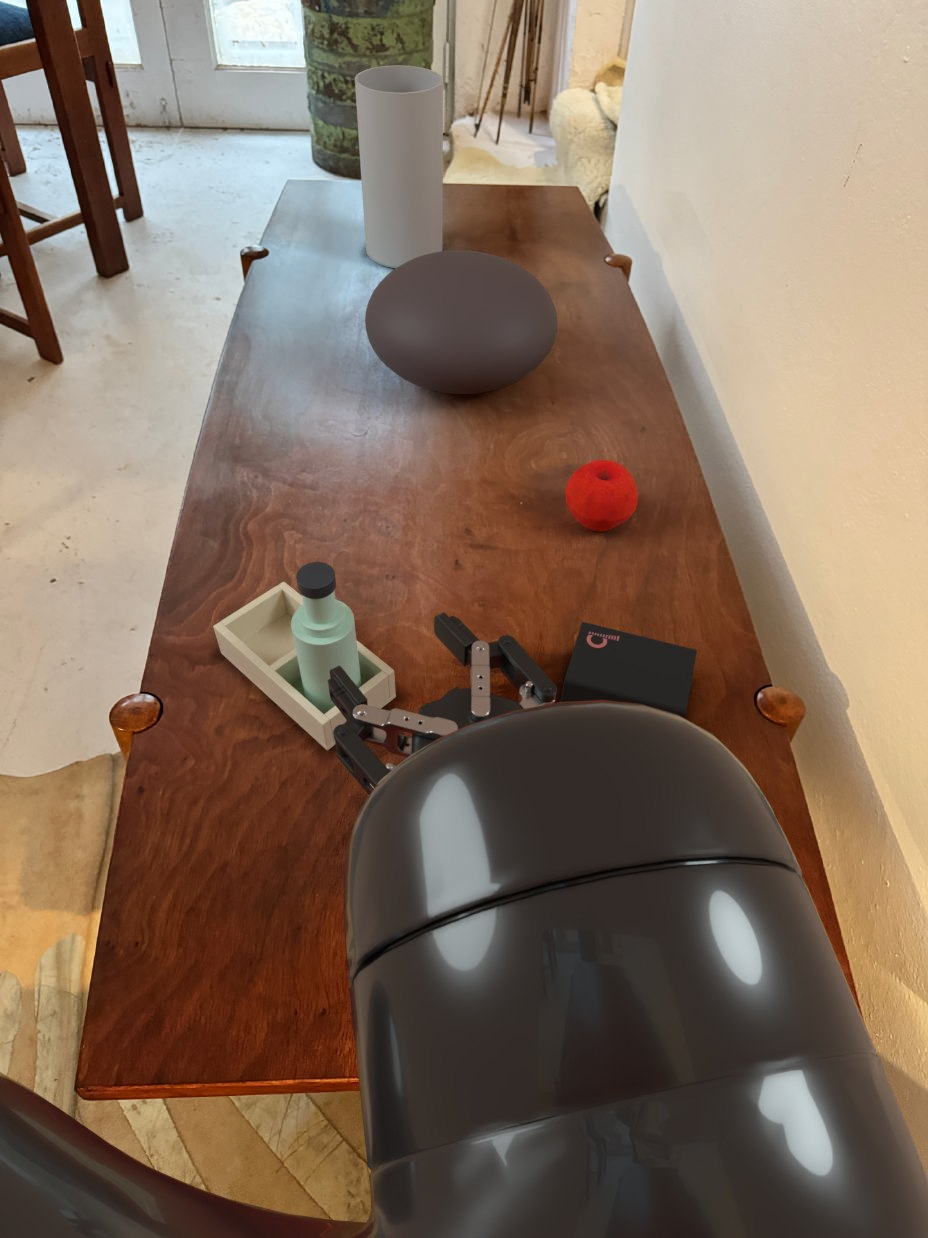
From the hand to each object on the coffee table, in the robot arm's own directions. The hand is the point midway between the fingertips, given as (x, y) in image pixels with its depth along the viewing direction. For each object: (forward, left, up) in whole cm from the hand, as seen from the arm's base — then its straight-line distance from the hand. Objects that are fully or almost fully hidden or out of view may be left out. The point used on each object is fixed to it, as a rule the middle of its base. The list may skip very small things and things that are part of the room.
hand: (387, 647), depth 59 cm
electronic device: (+21, -8, -18) cm, 29 cm away
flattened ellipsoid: (+50, +41, -18) cm, 67 cm away
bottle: (+2, +11, -17) cm, 20 cm away
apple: (+39, +9, -18) cm, 44 cm away
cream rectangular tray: (+2, +15, -18) cm, 23 cm away
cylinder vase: (+69, +72, -18) cm, 101 cm away
